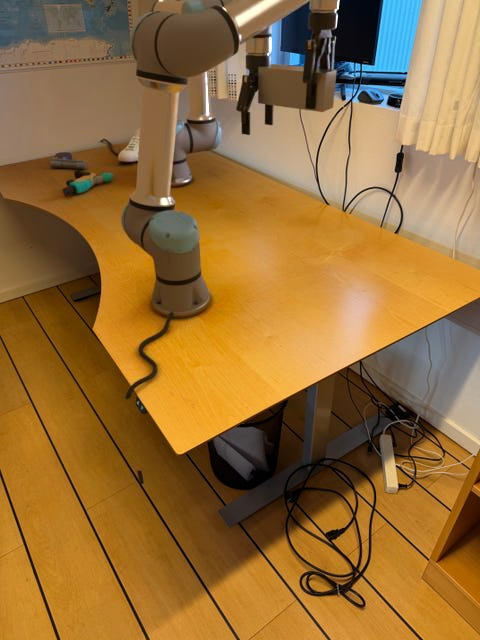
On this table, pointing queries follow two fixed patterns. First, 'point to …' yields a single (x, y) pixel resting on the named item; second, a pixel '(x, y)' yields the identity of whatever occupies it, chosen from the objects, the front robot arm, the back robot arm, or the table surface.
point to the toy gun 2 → (85, 181)
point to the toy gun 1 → (66, 161)
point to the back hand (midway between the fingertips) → (257, 129)
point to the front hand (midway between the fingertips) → (316, 106)
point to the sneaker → (131, 149)
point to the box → (294, 87)
